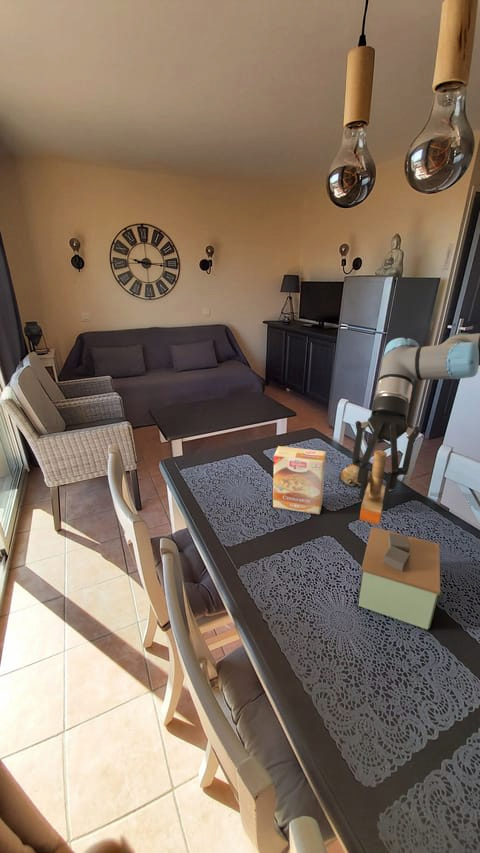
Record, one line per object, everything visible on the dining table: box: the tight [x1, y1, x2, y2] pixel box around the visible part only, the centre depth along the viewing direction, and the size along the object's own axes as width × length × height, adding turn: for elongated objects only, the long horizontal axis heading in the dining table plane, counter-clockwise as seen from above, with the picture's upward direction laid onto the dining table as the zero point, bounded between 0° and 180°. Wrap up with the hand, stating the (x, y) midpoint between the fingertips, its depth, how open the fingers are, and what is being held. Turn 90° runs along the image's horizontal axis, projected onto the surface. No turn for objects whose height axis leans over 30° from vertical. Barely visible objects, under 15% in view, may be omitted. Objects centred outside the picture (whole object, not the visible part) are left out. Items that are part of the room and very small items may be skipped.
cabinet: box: [358, 526, 441, 630], centre depth 81 cm, size 16×15×12 cm
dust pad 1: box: [388, 533, 410, 553], centre depth 81 cm, size 4×4×2 cm
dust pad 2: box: [384, 546, 410, 571], centre depth 77 cm, size 4×4×2 cm
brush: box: [359, 450, 388, 526], centre depth 78 cm, size 10×4×14 cm, turn 154°
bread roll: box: [340, 464, 371, 488], centre depth 128 cm, size 10×10×8 cm
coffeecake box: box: [272, 445, 327, 515], centre depth 113 cm, size 15×7×20 cm, turn 73°
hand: (372, 500), depth 75 cm, fingers closed on brush, 4 cm apart
